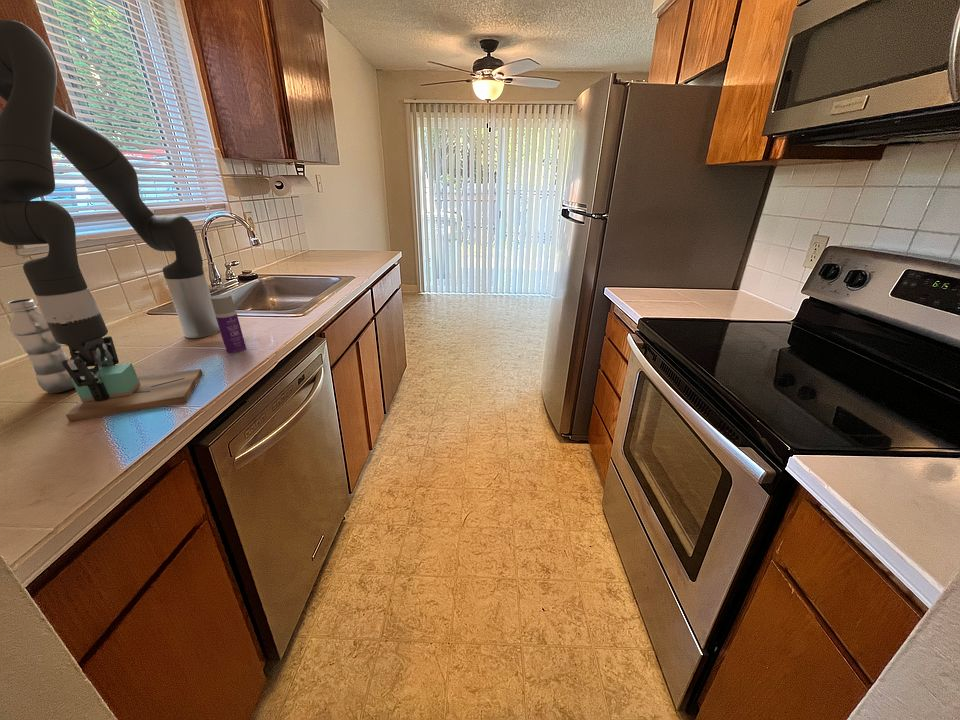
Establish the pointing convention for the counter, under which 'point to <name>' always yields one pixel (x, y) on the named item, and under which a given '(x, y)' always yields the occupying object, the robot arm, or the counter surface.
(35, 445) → the counter surface
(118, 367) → the block
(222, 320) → the container
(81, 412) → the oak board
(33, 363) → the plastic bottle
